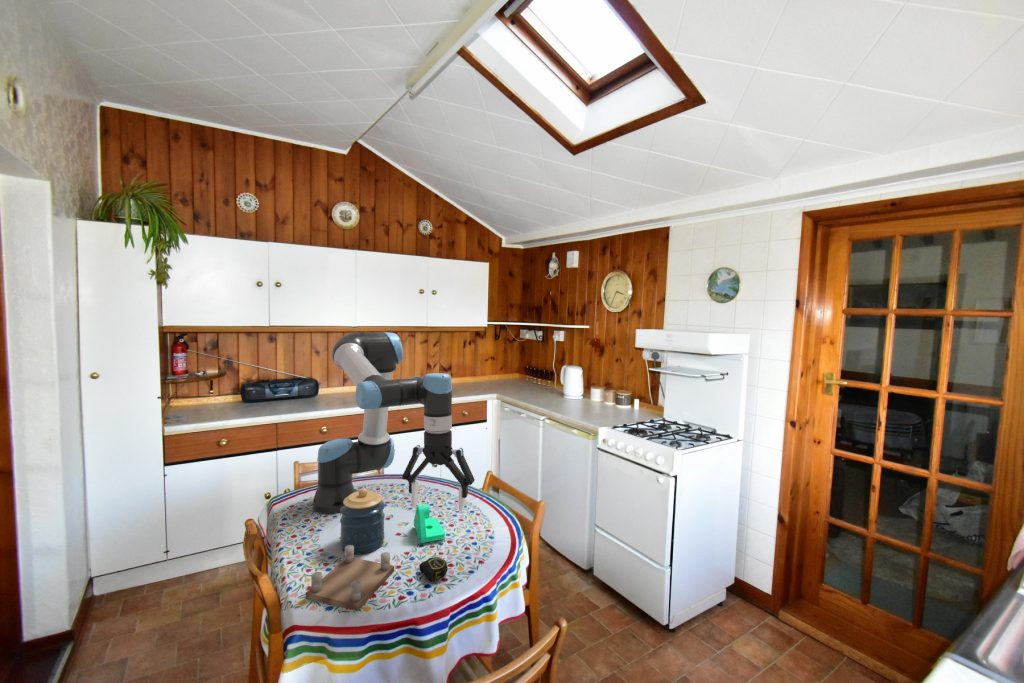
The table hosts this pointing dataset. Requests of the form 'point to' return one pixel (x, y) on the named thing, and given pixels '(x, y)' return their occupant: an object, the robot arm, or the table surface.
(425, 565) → the tape measure
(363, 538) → the canister
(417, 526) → the camera mount
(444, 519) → the table surface
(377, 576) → the pin board
